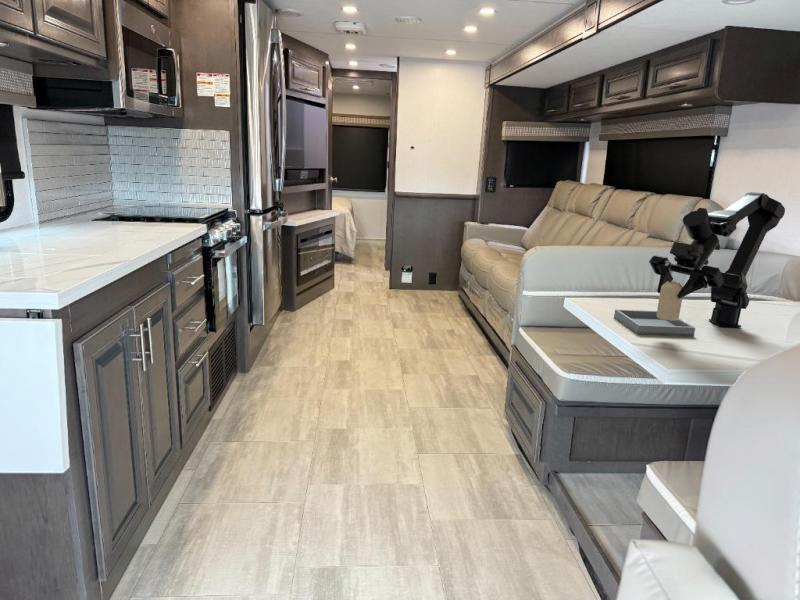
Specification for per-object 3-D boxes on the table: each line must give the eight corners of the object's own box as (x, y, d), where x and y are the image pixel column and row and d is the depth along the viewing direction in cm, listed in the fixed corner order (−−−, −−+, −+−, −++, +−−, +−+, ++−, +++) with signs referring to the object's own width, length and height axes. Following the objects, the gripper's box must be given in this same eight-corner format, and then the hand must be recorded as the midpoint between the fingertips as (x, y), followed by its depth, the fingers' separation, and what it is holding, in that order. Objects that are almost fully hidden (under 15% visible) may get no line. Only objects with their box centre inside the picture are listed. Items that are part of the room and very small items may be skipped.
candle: (654, 318, 149) (660, 282, 146) (658, 313, 153) (664, 278, 150) (676, 322, 146) (683, 285, 143) (680, 317, 150) (686, 281, 147)
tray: (664, 319, 169) (666, 311, 168) (693, 336, 153) (695, 327, 153) (613, 317, 168) (615, 309, 167) (637, 334, 153) (639, 325, 152)
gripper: (658, 226, 153) (627, 268, 150) (726, 236, 137) (693, 284, 135) (670, 252, 159) (641, 293, 156) (737, 265, 144) (705, 310, 141)
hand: (668, 294), depth 147 cm, fingers closed on candle, 5 cm apart
